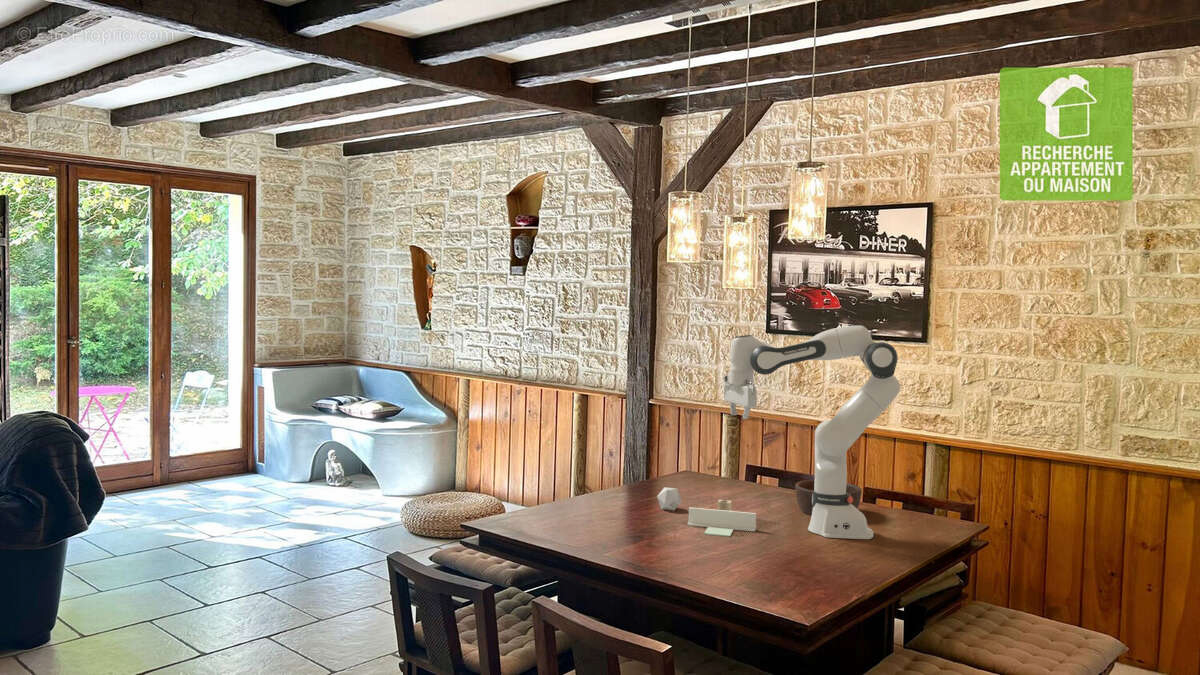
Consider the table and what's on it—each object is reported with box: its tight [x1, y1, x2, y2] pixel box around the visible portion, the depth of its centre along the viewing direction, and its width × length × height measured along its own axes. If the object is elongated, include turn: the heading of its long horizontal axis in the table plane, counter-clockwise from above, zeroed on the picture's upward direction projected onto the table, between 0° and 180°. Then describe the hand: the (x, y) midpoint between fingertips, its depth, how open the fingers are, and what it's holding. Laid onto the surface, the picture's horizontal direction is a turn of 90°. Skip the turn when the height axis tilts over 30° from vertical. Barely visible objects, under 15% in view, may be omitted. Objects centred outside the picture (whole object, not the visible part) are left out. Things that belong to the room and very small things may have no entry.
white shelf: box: [687, 506, 757, 532], centre depth 324 cm, size 24×4×6 cm, turn 75°
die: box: [656, 486, 682, 511], centre depth 349 cm, size 8×9×10 cm
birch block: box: [717, 499, 733, 511], centre depth 330 cm, size 4×4×8 cm
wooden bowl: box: [794, 479, 862, 516], centre depth 351 cm, size 25×25×10 cm
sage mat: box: [703, 527, 734, 538], centre depth 317 cm, size 9×9×1 cm
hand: (739, 416), depth 331 cm, fingers open, 8 cm apart
